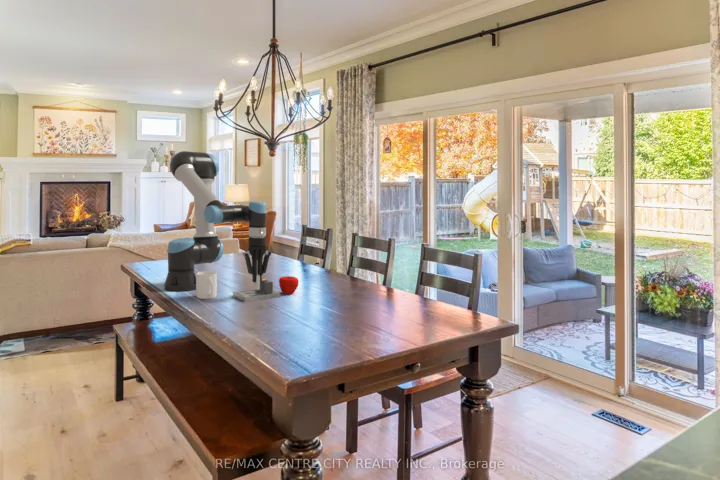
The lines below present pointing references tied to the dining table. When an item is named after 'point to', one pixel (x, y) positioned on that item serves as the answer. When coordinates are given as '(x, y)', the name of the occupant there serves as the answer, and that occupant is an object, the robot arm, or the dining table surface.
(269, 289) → the breaker
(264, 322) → the dining table surface
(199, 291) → the mug
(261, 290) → the block
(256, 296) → the panel
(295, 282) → the apple
